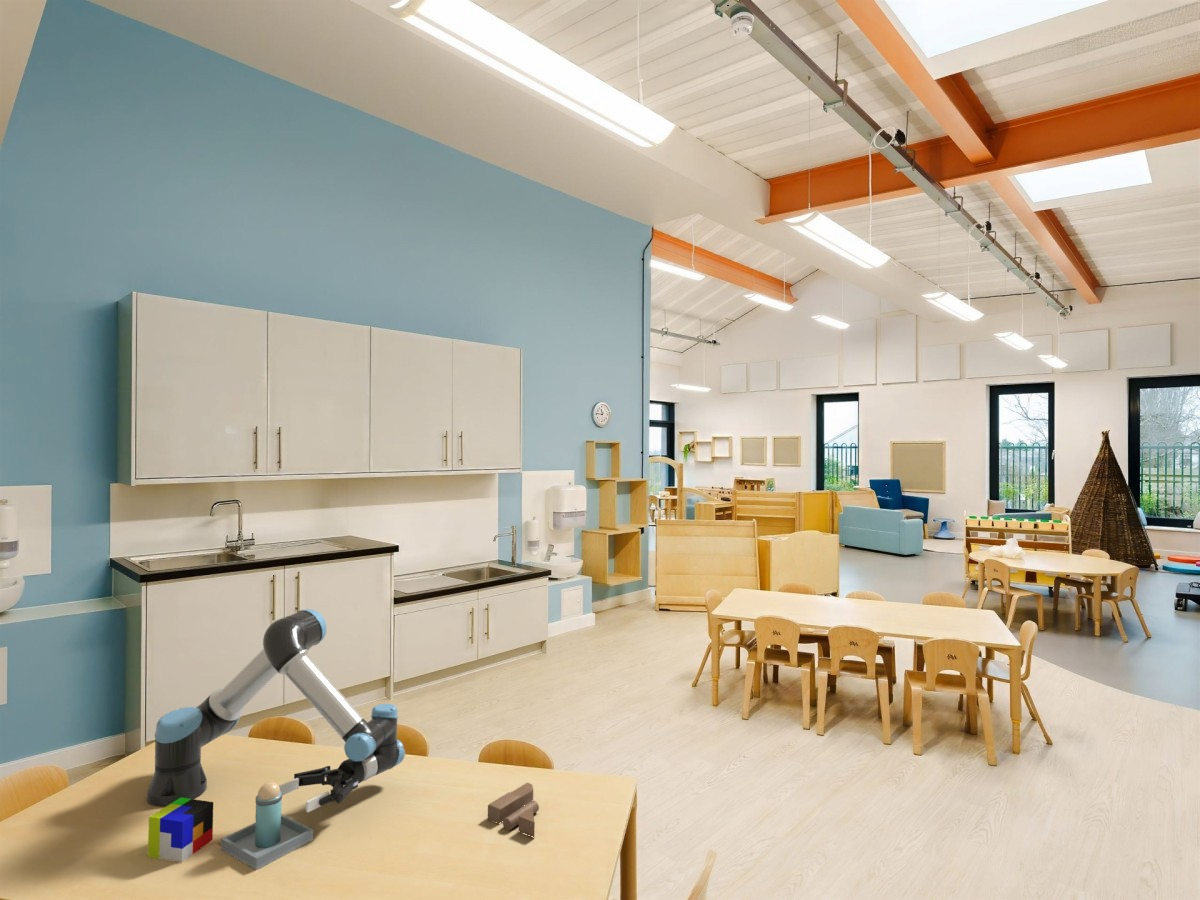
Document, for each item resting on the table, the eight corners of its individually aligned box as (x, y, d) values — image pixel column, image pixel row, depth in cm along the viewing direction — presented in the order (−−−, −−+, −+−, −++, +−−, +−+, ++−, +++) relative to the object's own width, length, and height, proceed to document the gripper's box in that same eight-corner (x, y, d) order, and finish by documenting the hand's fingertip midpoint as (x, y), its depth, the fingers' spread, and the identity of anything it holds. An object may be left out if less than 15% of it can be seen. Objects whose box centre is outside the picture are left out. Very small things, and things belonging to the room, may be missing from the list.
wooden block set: (485, 802, 190) (526, 777, 205) (484, 822, 190) (526, 796, 205) (531, 820, 181) (571, 793, 196) (531, 842, 181) (571, 813, 196)
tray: (221, 849, 174) (221, 838, 174) (277, 822, 188) (277, 812, 188) (256, 870, 166) (256, 858, 166) (313, 840, 179) (313, 829, 179)
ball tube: (249, 843, 176) (250, 784, 176) (272, 832, 181) (273, 775, 181) (263, 851, 173) (264, 791, 173) (286, 839, 178) (287, 781, 178)
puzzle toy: (181, 862, 169) (182, 822, 169) (147, 856, 171) (148, 816, 171) (212, 840, 179) (213, 802, 179) (179, 835, 181) (180, 797, 181)
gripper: (385, 794, 193) (320, 827, 175) (330, 771, 207) (263, 800, 189) (386, 767, 193) (320, 798, 176) (330, 746, 207) (264, 773, 189)
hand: (291, 799), depth 182 cm, fingers open, 13 cm apart
